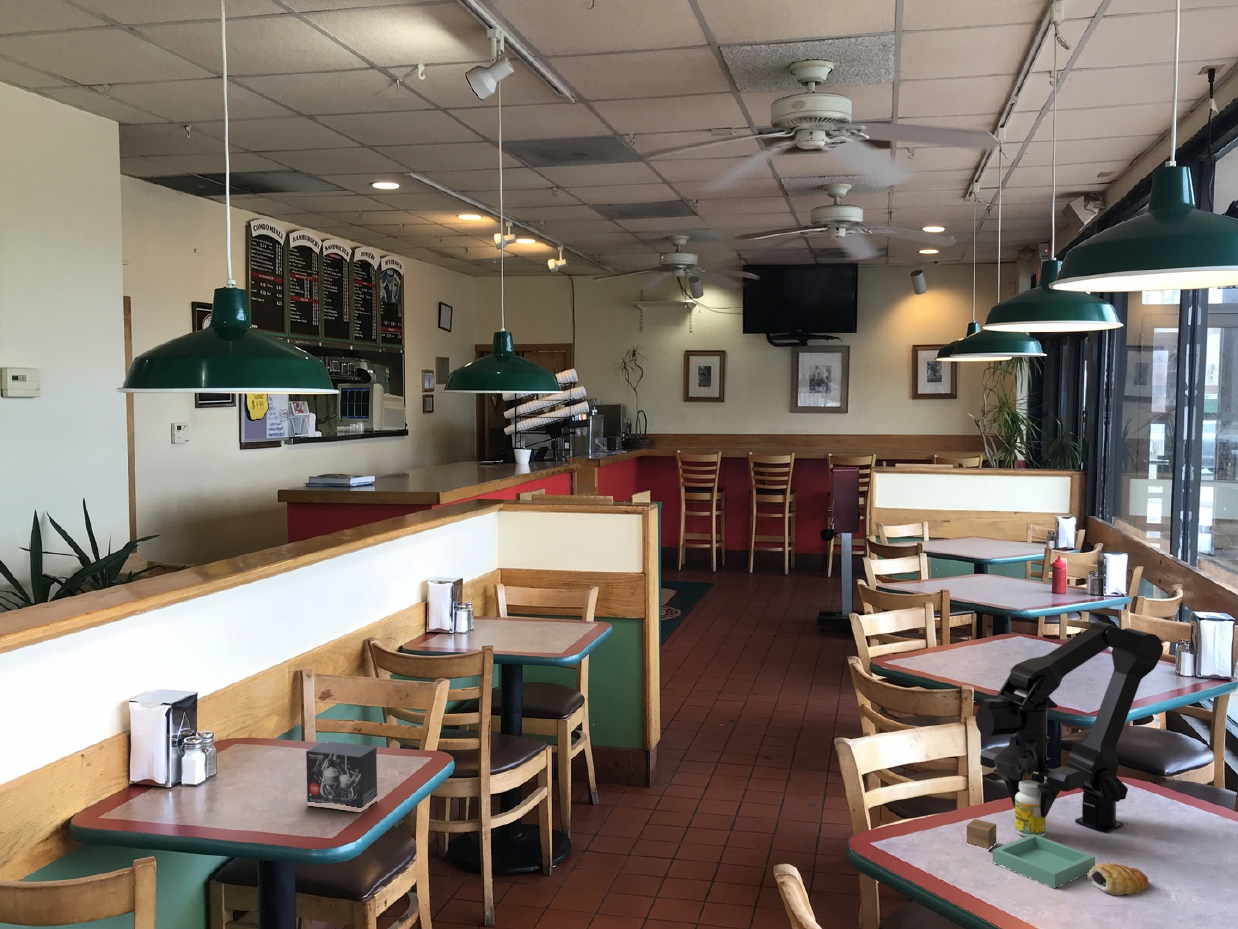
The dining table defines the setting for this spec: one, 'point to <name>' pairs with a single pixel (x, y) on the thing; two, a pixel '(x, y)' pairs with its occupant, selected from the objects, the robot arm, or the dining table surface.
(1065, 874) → the tray
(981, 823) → the walnut block
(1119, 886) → the pastry
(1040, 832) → the supplement bottle
